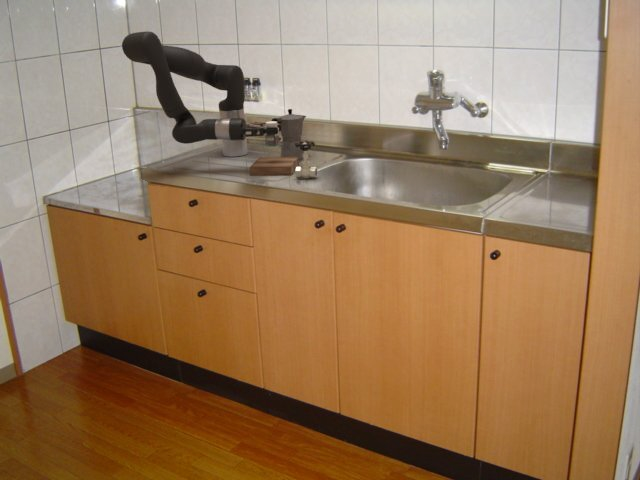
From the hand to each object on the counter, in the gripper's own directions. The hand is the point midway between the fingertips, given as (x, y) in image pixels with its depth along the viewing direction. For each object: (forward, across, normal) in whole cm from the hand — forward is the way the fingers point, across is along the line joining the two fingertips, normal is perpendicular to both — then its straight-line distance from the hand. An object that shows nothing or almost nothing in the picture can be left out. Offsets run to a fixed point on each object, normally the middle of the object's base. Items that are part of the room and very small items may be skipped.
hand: (279, 129), depth 247 cm
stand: (-2, 0, +14) cm, 14 cm away
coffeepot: (0, +17, +14) cm, 23 cm away
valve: (+11, -11, +14) cm, 21 cm away
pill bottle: (-3, 0, +6) cm, 7 cm away
